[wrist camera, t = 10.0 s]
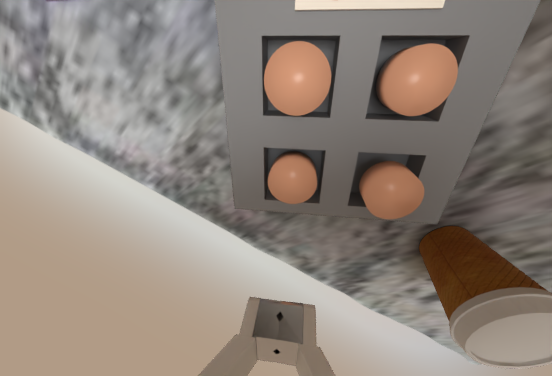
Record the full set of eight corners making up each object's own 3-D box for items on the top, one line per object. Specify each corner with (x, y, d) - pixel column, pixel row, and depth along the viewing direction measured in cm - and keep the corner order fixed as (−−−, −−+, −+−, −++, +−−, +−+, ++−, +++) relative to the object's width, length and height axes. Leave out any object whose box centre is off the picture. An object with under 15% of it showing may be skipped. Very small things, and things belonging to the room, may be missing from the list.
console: (534, -90, 15) (615, -145, 11) (420, 203, 27) (439, 227, 23) (224, -74, 17) (200, -116, 13) (243, 191, 29) (233, 211, 25)
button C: (412, 157, 21) (432, 173, 18) (398, 199, 23) (414, 221, 20) (361, 154, 22) (371, 170, 18) (352, 196, 24) (360, 217, 21)
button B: (330, 46, 18) (335, 41, 14) (323, 108, 20) (326, 116, 17) (271, 45, 18) (263, 41, 15) (271, 107, 20) (264, 114, 17)
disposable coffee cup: (492, 257, 29) (597, 363, 19) (416, 276, 32) (469, 376, 22) (480, 203, 26) (600, 296, 15) (396, 231, 29) (448, 323, 18)
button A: (439, 47, 18) (469, 43, 15) (420, 109, 20) (442, 117, 17) (379, 47, 18) (395, 43, 15) (366, 107, 21) (378, 115, 17)
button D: (317, 148, 23) (319, 161, 20) (313, 187, 25) (314, 205, 22) (272, 146, 24) (267, 158, 20) (272, 185, 26) (267, 202, 23)
